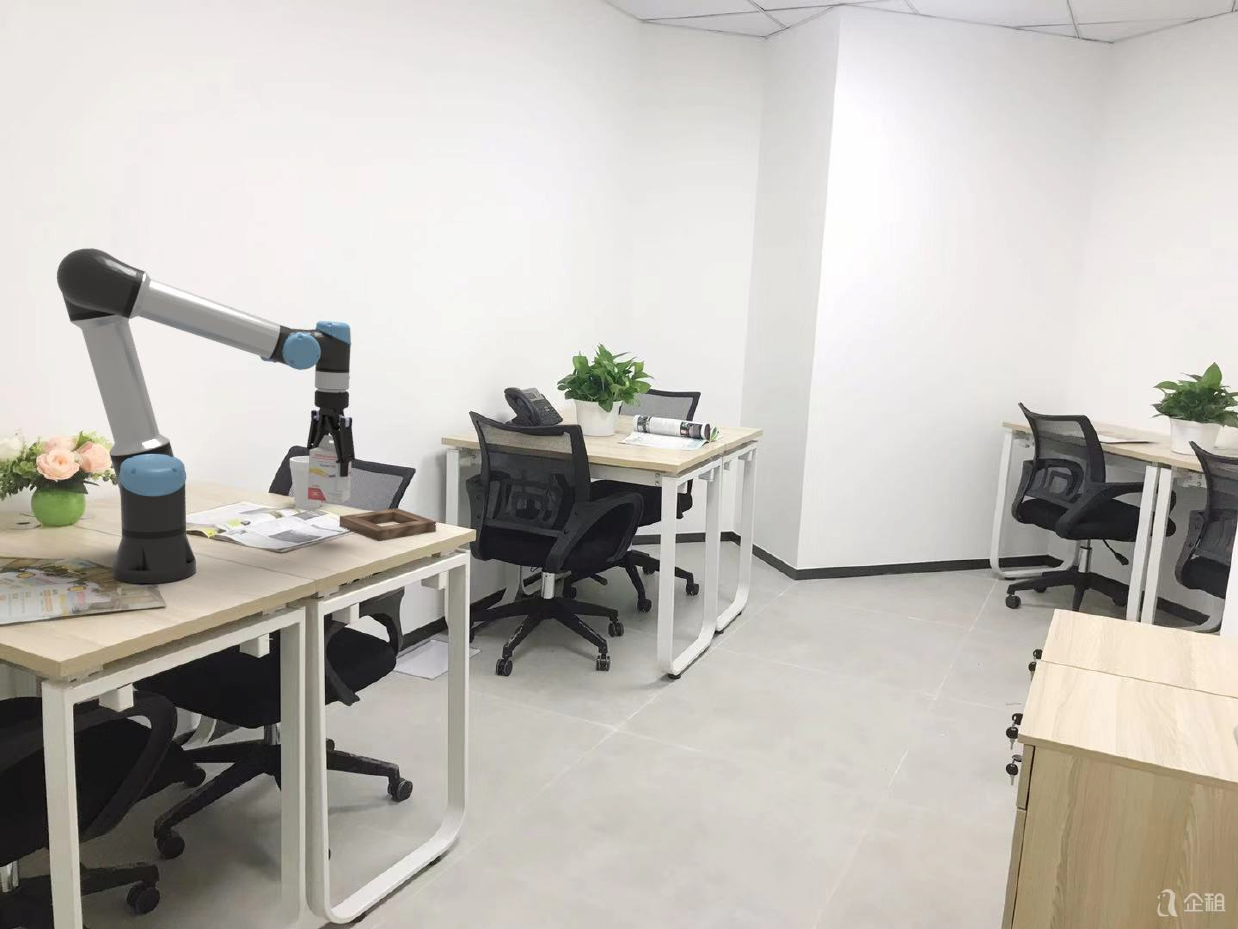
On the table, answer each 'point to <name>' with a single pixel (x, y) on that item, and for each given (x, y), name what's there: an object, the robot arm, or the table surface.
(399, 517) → the square wooden frame
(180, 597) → the table surface
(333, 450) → the ink cartridge box
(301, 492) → the foam cup
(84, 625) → the table surface
